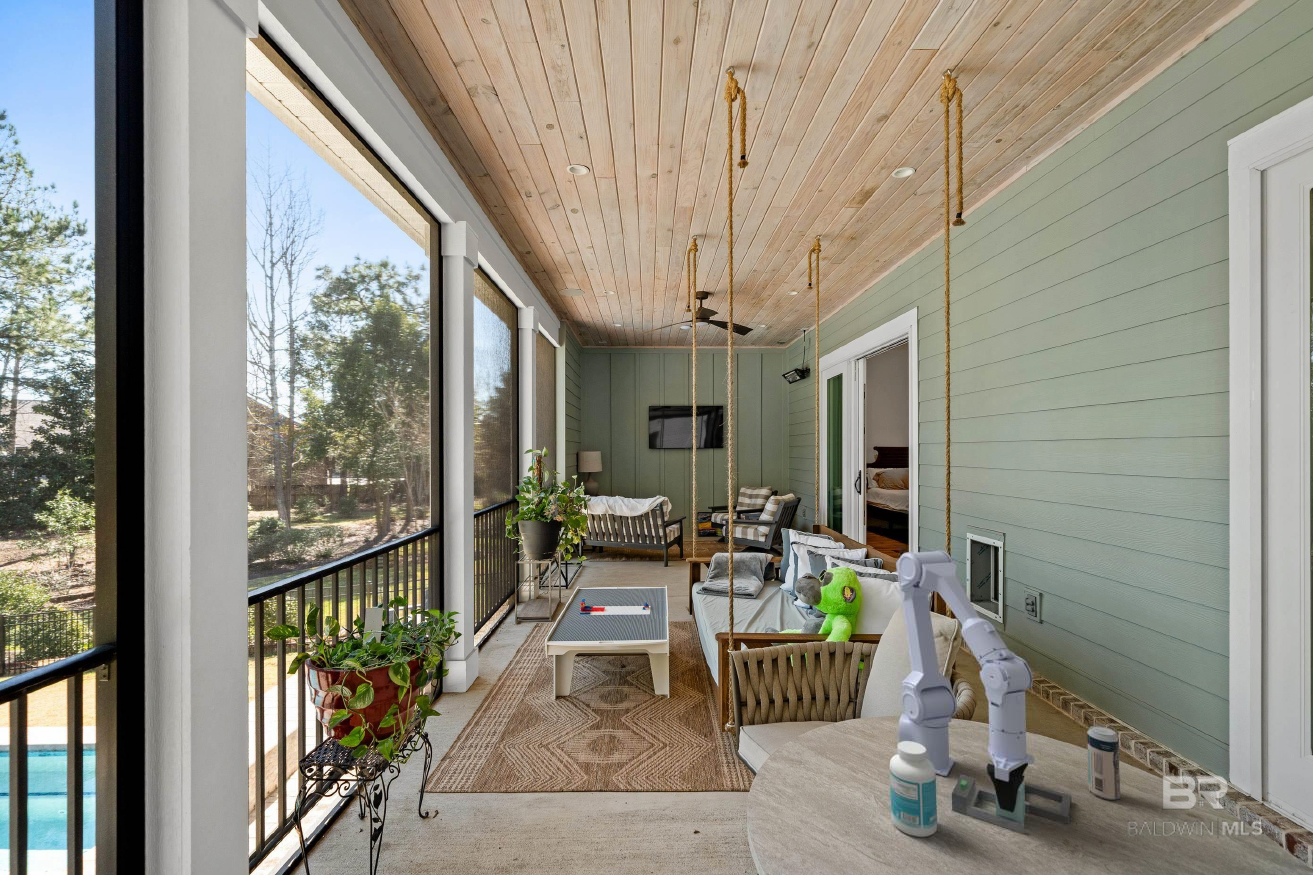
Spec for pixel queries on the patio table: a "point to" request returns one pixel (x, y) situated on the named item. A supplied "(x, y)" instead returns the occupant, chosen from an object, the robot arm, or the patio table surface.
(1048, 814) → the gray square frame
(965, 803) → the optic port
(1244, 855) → the patio table surface
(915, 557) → the robot arm
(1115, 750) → the supplement canister
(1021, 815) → the plug
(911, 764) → the pill bottle
